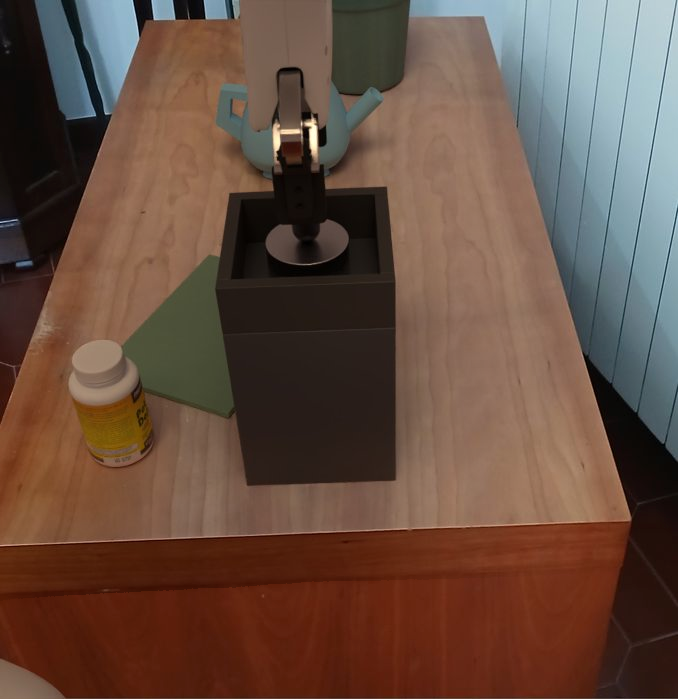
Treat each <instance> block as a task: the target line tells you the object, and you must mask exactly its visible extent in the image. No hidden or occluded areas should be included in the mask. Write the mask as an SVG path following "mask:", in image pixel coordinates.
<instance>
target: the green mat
mask: <svg viewBox="0 0 678 699" xmlns="http://www.w3.org/2000/svg"><path fill="white" fill-rule="evenodd" d="M219 259H220V256H217V255H213V254H208V255H207V256H205V258H204V259H203V260H202V261H201V262H200V263H199V265H197V266H196V267H195V268H194V270H192V272H191V273H190V274H189V275H187V277H186V278H185V279H184V280H183V281H182V282H181V283H180V284H179V285H178V286H177V287H176V288H175V290H173V292H172V293H170V294H169V296H168V297H167V298H166V299H165V300H164V301H163V302H162V303H161V304H160V305H159V306H158V307H157V308H156V309H155V310H154V311H153V312H152V313H151V315H149V316H148V318H146V320H145V321H144V322H143V323H142V324H141V325H140V326H139V327H138V328H137V329H136V330H135V331H134V332H133V333H132V335H130V336H129V338H127V339H126V341H124V343H123V344H122V345H120V346H121V348H122V350H123V353H124V356H125V357H127V358H129V359H130V360H131V361H133V362H134V364H135V365H136V366H137V368H138V371H139V375H140V379H141V383H142V387H143V391H144V393H148V394H151V395H154V396H157V397H160V398H164V399H167V400H170V401H172V402H176V403H179V404H182V405H186V406H188V407H192V408H195V409H199V410H201V411H204V412H207V413H211V414H214V415H217V416H220V417H222V418H226V419H230V418H231V416H232V415H233V414H234V413H235V408H234V402H233V396H232V390H231V384H230V377H229V371H228V365H227V359H226V353H225V347H224V341H223V333H222V329H221V322H220V316H219V310H218V304H217V298H216V292H215V285H216V279H217V272H218V266H219Z"/></svg>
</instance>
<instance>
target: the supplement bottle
mask: <svg viewBox="0 0 678 699" xmlns="http://www.w3.org/2000/svg"><path fill="white" fill-rule="evenodd" d="M121 346H122V345H120V344H119V343H118V342H116V341H115V340H111V339H95V340H92V341H89V342H88V341H87V343H85V344H82V345H81V346H80V347H78V348H77V349H76V350H75V352H74V353H73V354H72V357H71V365H72V368H73V369H72V370H73V371H72V372H71V374H70V375H69V378H68V382H67V384H68V386H67V387H68V391H69V394H70V397H71V400H72V403H73V407H74V409H75V410H74V411H75V413H76V415H77V419H78V422H79V425H80V428H81V431H82V435H83V437H84V440H85V443H86V447H87V450H88V452H89V455H90V456H91V457H92V458H93V460H94V461H95V462H96V463H98V464H100V465H102V466H105V467H110V468H120V467H126V466H129V465H132V464H134V463H135V464H136V462H138V461H140V460H142V459H143V458H145V456H146V455H147V454H148V453H149V452H150V450H151V448H152V446H153V444H154V441H155V433H154V428H153V424H152V420H151V416H150V412H149V407H148V404H147V399H146V395H145V391H143V387H142V383H141V379H140V375H139V371H138V368H137V366H136V365H135V364H134V362H133V361H131V360H130V359H129V358H127V357H125V356H124V353H123V350H122V348H121Z"/></svg>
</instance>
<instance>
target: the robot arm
mask: <svg viewBox="0 0 678 699" xmlns="http://www.w3.org/2000/svg"><path fill="white" fill-rule="evenodd" d="M238 5H239V6H238V7H239V17H240V18H239V20H240V21H239V23H240V30H241V45H242V55H243V65H244V77H245V85H246V88H247V100H248V114H249V126H250V127H251V128H252V130H254V131H255V132H260V131H261V130H268V129H269V127H270V124H271V121H272V125H271V126H272V138H273V162H274V166H272V179H271V180H272V187H273V191H274V199H275V208H276V217H277V222H278V223H279V224H281V225H296V224H320V223H324V222H325V221H326V220H327V208H326V192H325V189H326V178H325V177H326V176H324V164H319V147H324V146H325V145H326V144H327V132H326V124H327V123H328V115H329V103H330V89H331V73H332V0H238ZM279 113H280V120H279ZM303 137H305V138H307V139H309V143H310V149H309V146H308V144H303ZM0 699H67V698H66V697H65V695H63V694H62V692H60V690H58V689H57V688H56V687H55V686H54V685H53V684H51V683H50V682H48V681H47V680H45V678H43V677H41V676H40V675H37V674H36V673H35V672H32V671H30V670H28V669H26V668H24V667H21V666H20V665H16V664H15V663H12V662H10V661H8V660H6V659H3V658H0Z"/></svg>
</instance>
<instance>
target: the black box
mask: <svg viewBox="0 0 678 699" xmlns="http://www.w3.org/2000/svg"><path fill="white" fill-rule="evenodd" d="M325 192H326V208H327V219H328V220H331V221H334V222H336V223H338V224H340V225H341V226H342V227H343V228H344V229H345V230H346V231H347V233H348V236H349V250H350V275H332V276H306V277H280V278H269V273H268V264H267V255H266V246H265V241H266V238H267V236H268V234H269V233H270V231H271V230H273V229H274V228H275V227H276V226H278V225H280V224H279V223H278V222H277V217H276V208H275V199H274V190H267V191H266V190H265V191H264V190H263V191H240V192H229V194H228V199H227V200H228V201H227V207H226V213H225V220H224V227H223V232H222V233H223V234H222V240H221V245H220V246H221V247H220V253H219V257H220V259H219V266H218V272H217V279H216V285H215V292H216V298H217V304H218V310H219V316H220V322H221V329H222V333H223V341H224V347H225V353H226V359H227V365H228V371H229V377H230V384H231V390H232V396H233V402H234V408H235V411H234V413H235V419H236V426H237V433H238V438H239V445H240V451H241V457H242V461H243V468H244V476H245V482H246V486H267V485H270V486H272V485H273V486H274V485H297V484H326V483H329V484H330V483H331V484H332V483H355V482H357V483H359V482H384V481H385V482H386V481H396V480H397V413H396V412H397V389H396V388H397V305H396V304H397V301H396V300H397V281H396V271H395V270H396V268H395V259H394V248H393V239H392V238H393V237H392V225H391V216H390V205H389V193H388V187H387V186H364V187H362V186H361V187H338V188H325Z"/></svg>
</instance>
